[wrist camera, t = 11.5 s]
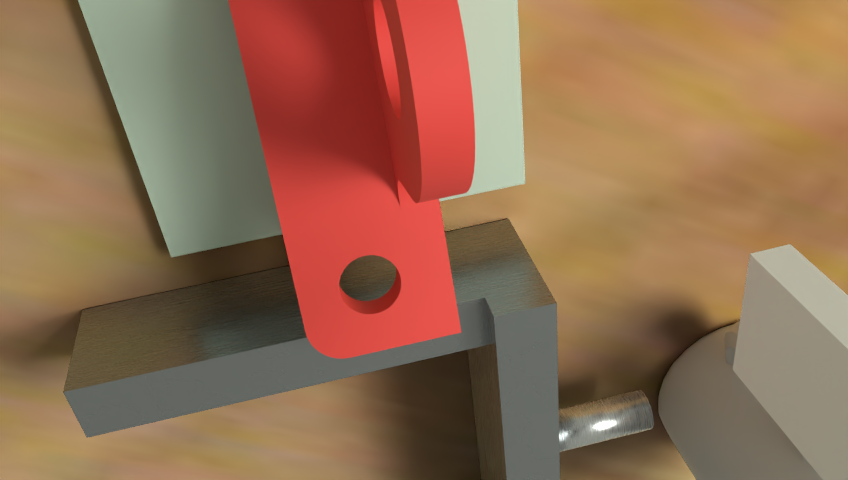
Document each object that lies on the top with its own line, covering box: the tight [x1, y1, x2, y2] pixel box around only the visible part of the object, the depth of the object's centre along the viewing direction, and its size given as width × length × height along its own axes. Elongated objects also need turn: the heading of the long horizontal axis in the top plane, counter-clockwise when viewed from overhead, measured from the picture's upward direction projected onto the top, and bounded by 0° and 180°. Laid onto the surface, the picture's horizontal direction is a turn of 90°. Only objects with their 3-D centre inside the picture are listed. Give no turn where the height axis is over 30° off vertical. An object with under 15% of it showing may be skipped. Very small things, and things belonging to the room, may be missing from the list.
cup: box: [658, 321, 822, 480], centre depth 31 cm, size 7×10×9 cm
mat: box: [78, 0, 525, 257], centre depth 24 cm, size 12×9×1 cm
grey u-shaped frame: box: [63, 219, 654, 480], centre depth 31 cm, size 20×18×5 cm
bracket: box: [228, 0, 475, 359], centre depth 19 cm, size 12×4×8 cm, turn 6°
